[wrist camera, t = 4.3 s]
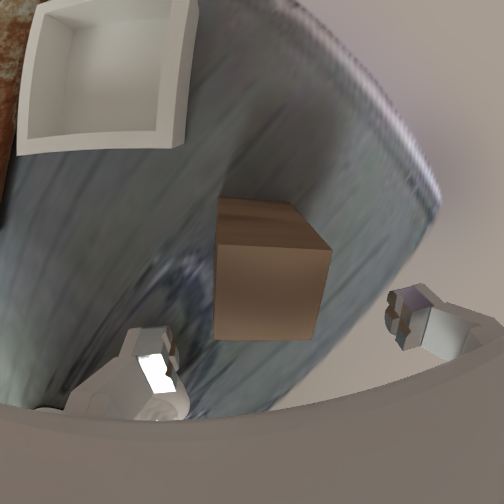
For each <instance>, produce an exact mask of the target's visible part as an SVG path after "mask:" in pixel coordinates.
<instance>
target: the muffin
mask: <svg viewBox="0 0 504 504" xmlns="http://www.w3.org/2000/svg"><path fill="white" fill-rule="evenodd" d="M177 377H178V375H177ZM189 409H190V400H189V397H188V395H187V393H186V389H185V387H184V385H183V383H182V382H181V380H180V379H179V377H178V381H177V389H176V391H174V392H160V393H154V394H153V396H152V397H151V398H150V399H149V401H148V402H147V403H146V404H145V406H144V407H143V408H142V409H141V411H140V412H139V413H138V414H137V415H136V417H135V418H134V419H133V420H183V419H184V418H185V417H186V416H187V414H188V412H189Z"/></svg>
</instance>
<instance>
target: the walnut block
mask: <svg viewBox="0 0 504 504" xmlns="http://www.w3.org/2000/svg"><path fill="white" fill-rule="evenodd" d="M332 251H333V250H332V249H331V248H330V247H329V246H328V245H327V243H326V242H325V241H324V240H323V239H322V238H321V237H320V236H319V234H318V233H317V232H316V231H315V230H314V229H313V228H312V227H311V226H310V225H309V223H308V222H307V221H306V220H305V219H304V218H303V217H302V216H301V215H300V214H299V213H298V211H297V210H296V209H295V208H294V207H293V206H292V205H291V204H290V203H287V202H275V201H263V200H249V199H234V198H218V203H217V218H216V234H215V252H214V299H213V330H214V340H249V341H272V340H311V339H312V336H313V332H314V328H315V324H316V320H317V316H318V312H319V308H320V304H321V300H322V296H323V292H324V288H325V283H326V279H327V274H328V270H329V265H330V261H331V256H332Z"/></svg>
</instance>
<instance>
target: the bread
mask: <svg viewBox="0 0 504 504" xmlns="http://www.w3.org/2000/svg"><path fill="white" fill-rule="evenodd" d="M44 2H47V0H0V206H1V200H2V194H3V189H4V184H5V178H6V173H7V167H8V162H9V158H10V153H11V147H12V143H13V139H14V135H15V132H16V127H17V120H18V105H19V94H20V85H21V77H22V70H23V64H24V58H25V53H26V47H27V43H28V38H29V33H30V29H31V25H32V21H33V17H34V14H35V10H36V7H37V5H38V4H41V3H44Z"/></svg>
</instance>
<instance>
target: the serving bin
mask: <svg viewBox="0 0 504 504" xmlns="http://www.w3.org/2000/svg"><path fill="white" fill-rule="evenodd" d="M198 19H199V8H198V1H197V0H51V1H47V2H44V3H41V4H38V5H37V7H36V10H35V14H34V17H33V21H32V25H31V29H30V33H29V38H28V43H27V47H26V53H25V58H24V64H23V70H22V77H21V85H20V94H19V105H18V120H17V156H20V155H29V154H38V153H48V152H60V151H73V150H91V149H119V148H171V149H172V148H174V147H177V146H180V145H182V144H184V141H185V128H186V116H187V105H188V95H189V86H190V77H191V68H192V60H193V53H194V45H195V38H196V32H197V25H198Z"/></svg>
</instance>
